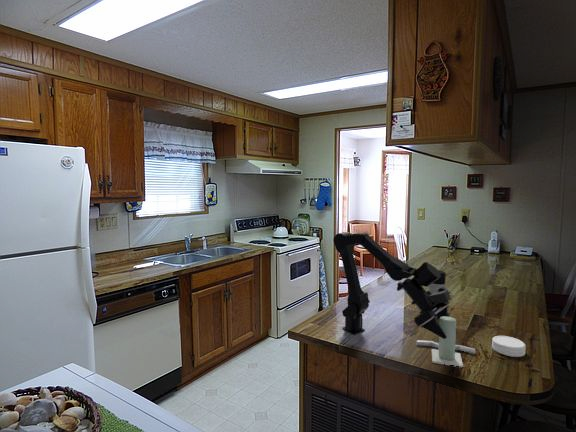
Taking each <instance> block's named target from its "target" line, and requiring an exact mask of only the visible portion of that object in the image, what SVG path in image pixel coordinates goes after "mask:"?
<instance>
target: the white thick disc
mask: <svg viewBox="0 0 576 432" xmlns="http://www.w3.org/2000/svg"><path fill="white" fill-rule="evenodd" d="M491 338H492V339H491V348H492V349H493V350H494V351H495V352H496V353H499V354H500V355H504V356H508V357H512V358H513V357H515V358H522V357H524V356H525V355H526V343H524V341H522V340H520V339H518V338H515V337H512V336H507V335H496V336H493V337H491Z"/></svg>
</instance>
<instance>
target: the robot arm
mask: <svg viewBox="0 0 576 432" xmlns="http://www.w3.org/2000/svg"><path fill="white" fill-rule="evenodd" d="M332 243H333V244H334V245H333V246H334V247H335V250H336V251H337V252H338V254H339V255H340V257H341V261H342V266H343V270H344V275H345V278H346V284H347V288H348V293H347V294H348V295H347V306H346V307H345V308H344V309H343V310H342V311H341V313H342V316H343V317H345V318H344V319H345V320H344V326H342V330H344V331H346V332H348V333H350V334H352V335H355V334H358V333H361V332H362V333H363V332H364V331H365V328H363V323H364V322H363V319H364V318H363V315H364V314H365V311H367V310H368V308H369V307H370V302H371V301H370V299H369V294H368V292H365V291H363V289H362V288H361V282H360V278H359V274H358V273H359V272H358V270H357V265H356V259H355V257H354V256H355V255H354V250H355V246H356V245H357V244H358V245H360V246H361V247H362V248H363V249H365V250H366V252H368V253H369V255H371V256H372V257H373V258H375V259H376V260H377V261H378V262H379V263H380V264H381V265H382V267H383V269H384V271H385V272H386V274H387V275H388V276H389V277H390V278H391V280H392V281H395V282H397V287H396V291H397V292H399V291H401V290H403V291H404V292H405V293H406V294H407V296H408V297H409V298H410V299H411V300H412V302H411V304H412V305H413V306H414V305H416V307H417V309H419V314H418V315H417V316H415V317H414V321H413V322H414V323H415V324H416V326H417V327H419V328H421V329H422V328H424V330H427V331H429V332H431V333H432V334H434V335H436V336H438V337H439V336H440V337H441V338H443V339H445V338H447V336H446V335H445V333H444V331H443V330H442V328H441V327H440V325H439V324H440V323H439V322H438V321H440V317H442V316H447V317H451V316H450V313H449V308H450V305H449V304H450V302H449V301H450V300H451V295H450V294H451V292H450V291H449V290H448V289H447V288H446V287H445V288H444V287H442V288H439V289H438V292H436V293H433V294H432V293H431V292H430V291H429V290H426V289H425V287H426V288H429V285H431V284H432V283H433V282H435V281H436V280H437V279H439V278H440V277H441V275H440V273H439V271H438V270H439V269H438V268H436V267H435V266H434V265H432V264H430V263H429V262H428V261H425V262H423V263H421V265H420V266H419V267H418V268H416V267H411V266H410V265H409V264H408V263H406V262H404V261H403V260H401V259H399V258H397V257H394V256H392V254H390V253H389V251H387V250H386V249H384V248H383V247H382V246H381V245H380V244H379V243H378V242H377V241H375V240H374V239H373V238H372V237H371V236H370V234H369V233H367V232H359V233H351V232H349V231H345V232H338V233H336V234H335V235H334V237H333V242H332ZM411 277H412V278H411ZM401 280H404V281H401ZM435 313H436V314H435ZM434 316H435V317H434Z"/></svg>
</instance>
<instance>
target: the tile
mask: <svg viewBox="0 0 576 432" xmlns="http://www.w3.org/2000/svg"><path fill="white" fill-rule="evenodd" d="M438 352H439V349H437V348H431V360H432V363H433V364H439V365H444V364H445V365H444V366H450V365H454V366H453V367H456V366H459V367H458V368H462V367H463V368H464V362H463V359H462V356H461V355H462V354H461V353H460V352H455V359H454V360H452V361H448V360H443V359H441V358H440V357H439V356H438Z"/></svg>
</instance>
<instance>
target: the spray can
mask: <svg viewBox="0 0 576 432" xmlns="http://www.w3.org/2000/svg"><path fill="white" fill-rule="evenodd" d="M437 270H438V271H439V273H440V275H441V277H440V278H439V279H437V280H436V281H435V282H433V283H432V284H431V285H429V286H428V291H430V292H431V293H432V294H433V293H436V292H438V289H439V288H442V287H444V288H445V289H446V274H447V273H446V271H443V270H439V269H437ZM435 314H436V313H435ZM434 317H435V316H434Z"/></svg>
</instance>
